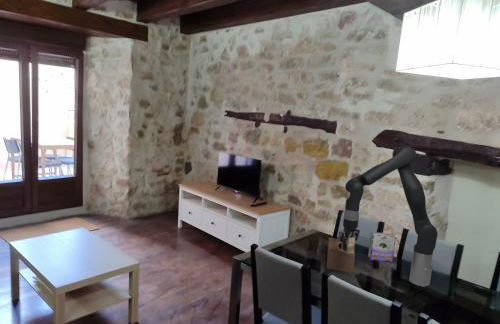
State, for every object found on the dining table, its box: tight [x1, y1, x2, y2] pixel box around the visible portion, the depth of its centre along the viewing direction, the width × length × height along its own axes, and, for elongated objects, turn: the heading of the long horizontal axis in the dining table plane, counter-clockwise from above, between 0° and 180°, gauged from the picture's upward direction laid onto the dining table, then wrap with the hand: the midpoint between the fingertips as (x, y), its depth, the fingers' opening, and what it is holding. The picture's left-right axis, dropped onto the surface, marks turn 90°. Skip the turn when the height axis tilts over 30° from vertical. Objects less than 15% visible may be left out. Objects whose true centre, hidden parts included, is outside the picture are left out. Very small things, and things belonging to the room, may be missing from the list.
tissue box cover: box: [326, 237, 356, 274], centre depth 209 cm, size 26×14×10 cm, turn 167°
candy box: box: [367, 231, 397, 263], centre depth 218 cm, size 14×6×16 cm, turn 84°
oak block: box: [341, 236, 356, 254], centre depth 187 cm, size 4×4×8 cm
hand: (347, 249), depth 187 cm, fingers closed on oak block, 4 cm apart
